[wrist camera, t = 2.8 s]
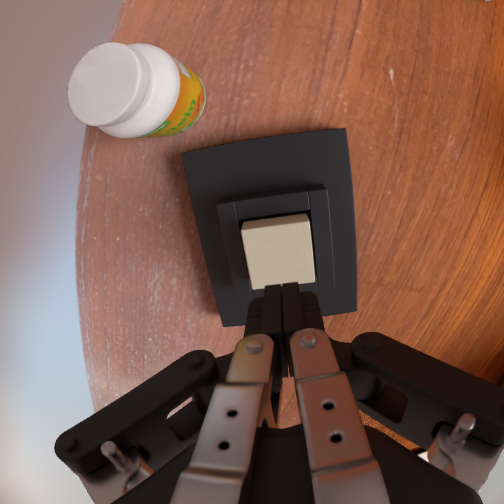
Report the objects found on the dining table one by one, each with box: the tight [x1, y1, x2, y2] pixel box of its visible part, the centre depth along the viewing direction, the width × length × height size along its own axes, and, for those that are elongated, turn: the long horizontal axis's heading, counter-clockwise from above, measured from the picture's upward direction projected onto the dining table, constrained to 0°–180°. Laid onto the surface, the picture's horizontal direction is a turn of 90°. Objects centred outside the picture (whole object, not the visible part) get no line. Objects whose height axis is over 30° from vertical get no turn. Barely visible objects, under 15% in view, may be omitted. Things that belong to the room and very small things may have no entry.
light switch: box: [182, 128, 357, 327], centre depth 20 cm, size 14×11×4 cm
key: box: [241, 213, 315, 290], centre depth 18 cm, size 4×4×2 cm
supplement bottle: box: [67, 43, 206, 138], centre depth 14 cm, size 5×5×10 cm
